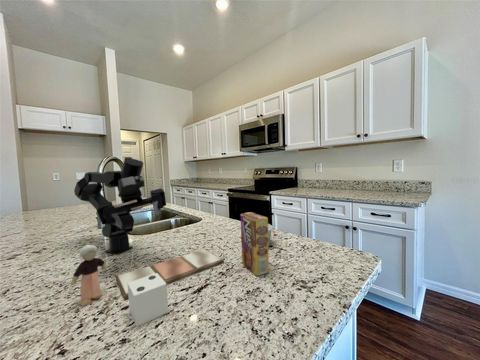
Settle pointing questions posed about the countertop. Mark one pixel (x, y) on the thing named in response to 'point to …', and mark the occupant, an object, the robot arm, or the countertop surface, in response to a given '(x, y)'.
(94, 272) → the grandmother figurine
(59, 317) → the countertop surface
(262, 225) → the candy box
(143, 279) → the white die
